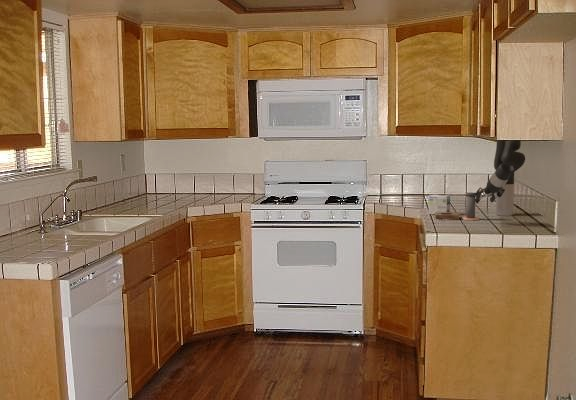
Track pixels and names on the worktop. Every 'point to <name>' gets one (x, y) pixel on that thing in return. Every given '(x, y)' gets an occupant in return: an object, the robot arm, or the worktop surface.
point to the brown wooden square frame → (447, 215)
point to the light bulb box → (439, 203)
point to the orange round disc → (470, 218)
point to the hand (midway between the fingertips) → (483, 201)
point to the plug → (470, 205)
